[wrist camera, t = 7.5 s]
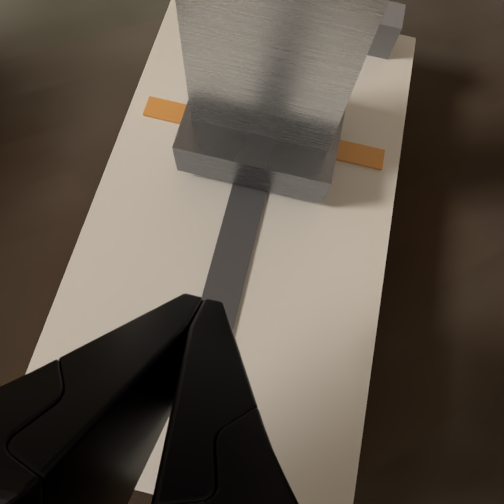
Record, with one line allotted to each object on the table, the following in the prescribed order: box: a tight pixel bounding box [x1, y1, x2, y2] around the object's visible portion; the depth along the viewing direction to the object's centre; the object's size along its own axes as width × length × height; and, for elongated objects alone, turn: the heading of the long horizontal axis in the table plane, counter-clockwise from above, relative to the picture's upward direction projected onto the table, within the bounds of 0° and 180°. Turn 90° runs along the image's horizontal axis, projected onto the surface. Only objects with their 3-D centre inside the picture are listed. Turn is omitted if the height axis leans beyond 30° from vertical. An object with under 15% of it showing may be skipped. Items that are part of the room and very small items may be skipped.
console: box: [25, 0, 416, 504], centre depth 15 cm, size 18×10×4 cm, turn 167°
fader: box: [172, 0, 389, 204], centre depth 10 cm, size 4×6×10 cm
